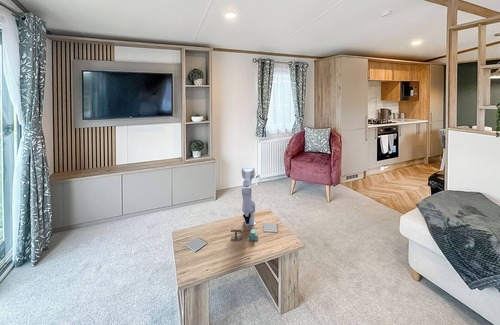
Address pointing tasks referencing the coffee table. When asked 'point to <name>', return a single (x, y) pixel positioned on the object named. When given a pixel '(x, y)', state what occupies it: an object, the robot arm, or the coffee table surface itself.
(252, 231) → the teal notched block
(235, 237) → the stand
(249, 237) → the mat
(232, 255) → the coffee table surface
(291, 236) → the coffee table surface
